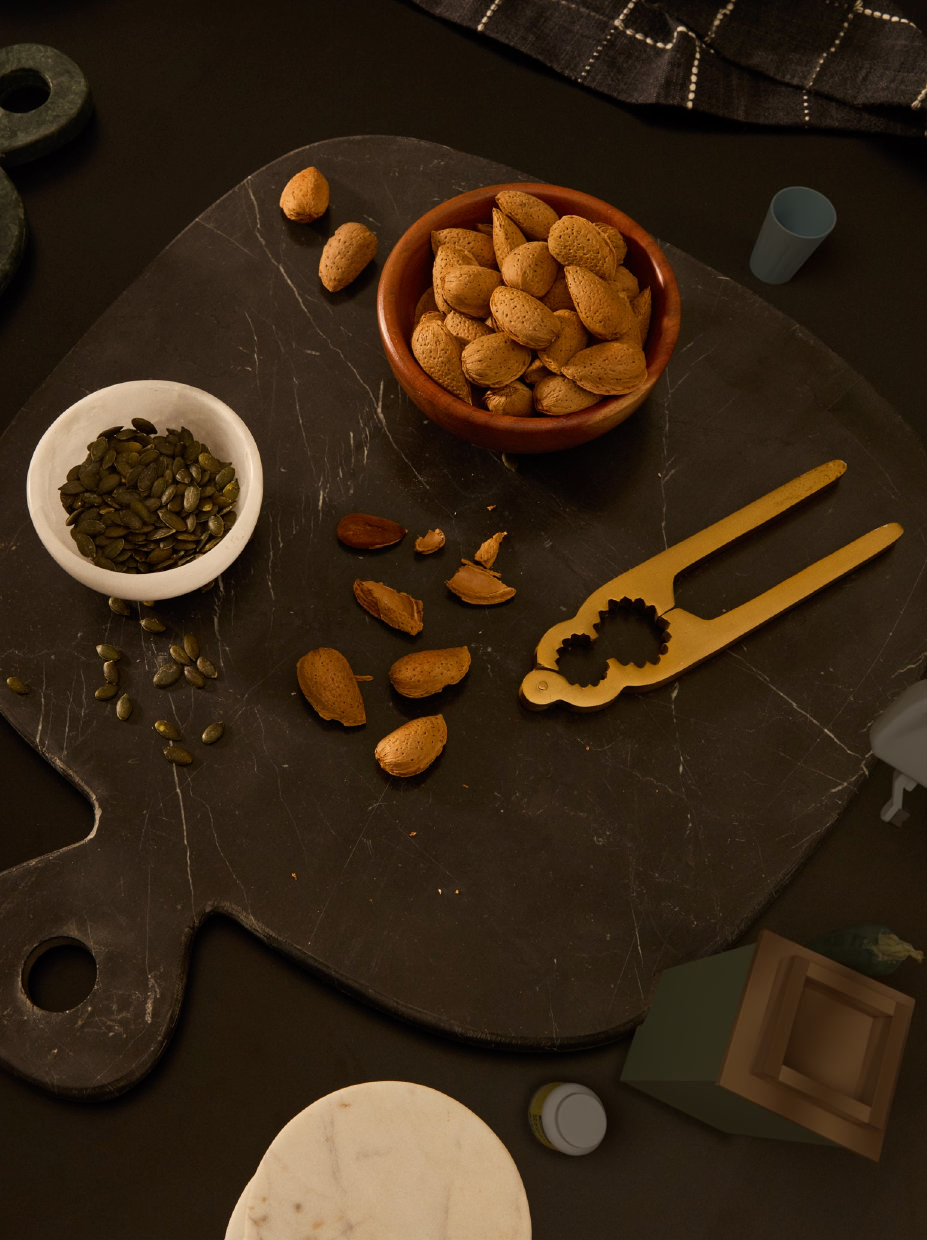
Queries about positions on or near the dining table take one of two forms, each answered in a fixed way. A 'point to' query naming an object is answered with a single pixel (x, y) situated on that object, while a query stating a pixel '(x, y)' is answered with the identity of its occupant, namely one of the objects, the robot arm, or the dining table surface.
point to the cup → (791, 233)
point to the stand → (701, 1048)
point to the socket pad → (817, 1044)
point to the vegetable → (865, 948)
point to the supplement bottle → (567, 1118)
